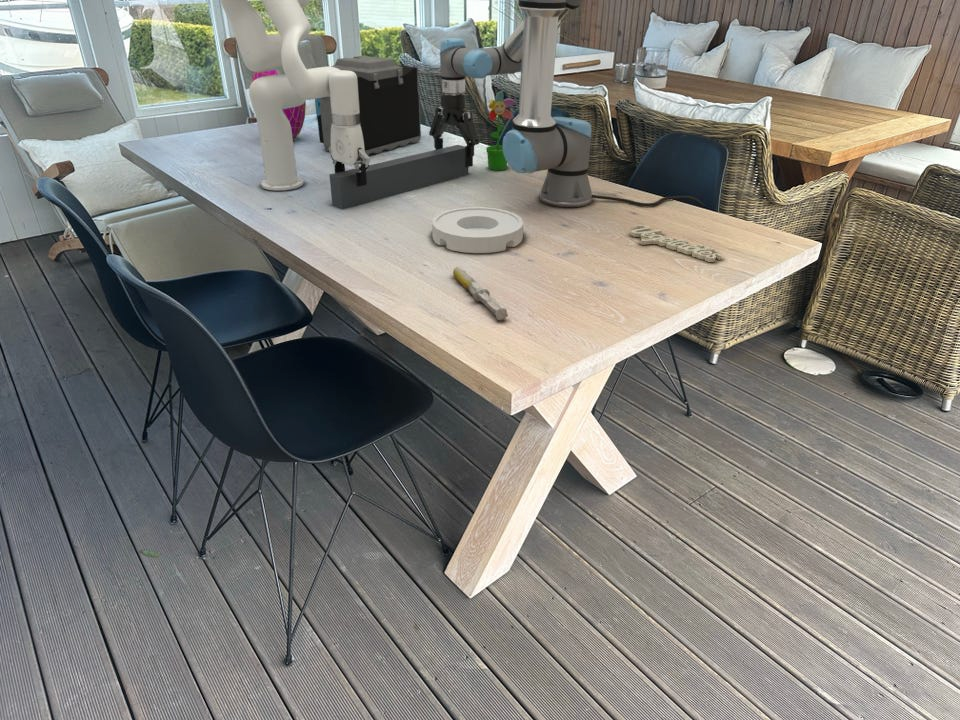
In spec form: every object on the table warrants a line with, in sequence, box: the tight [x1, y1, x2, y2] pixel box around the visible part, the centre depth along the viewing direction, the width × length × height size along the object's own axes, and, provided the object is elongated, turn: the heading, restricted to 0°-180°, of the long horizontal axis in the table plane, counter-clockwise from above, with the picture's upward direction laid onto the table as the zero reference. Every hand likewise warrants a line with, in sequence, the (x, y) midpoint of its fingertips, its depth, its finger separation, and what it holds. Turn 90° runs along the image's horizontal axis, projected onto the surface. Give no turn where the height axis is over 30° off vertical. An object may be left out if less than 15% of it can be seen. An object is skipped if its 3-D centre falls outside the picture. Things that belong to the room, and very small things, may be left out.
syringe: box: [452, 266, 509, 321], centre depth 145 cm, size 25×4×3 cm, turn 21°
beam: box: [329, 144, 469, 209], centre depth 210 cm, size 51×5×9 cm, turn 137°
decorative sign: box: [630, 224, 722, 263], centre depth 172 cm, size 26×1×10 cm
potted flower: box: [486, 90, 517, 171], centre depth 227 cm, size 9×8×25 cm
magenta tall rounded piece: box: [251, 70, 307, 139], centre depth 257 cm, size 19×19×30 cm
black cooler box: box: [316, 55, 422, 156], centre depth 250 cm, size 37×22×30 cm, turn 144°
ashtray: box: [431, 206, 524, 254], centre depth 175 cm, size 23×23×4 cm
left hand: (351, 181), depth 196 cm, fingers open, 9 cm apart
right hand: (453, 162), depth 223 cm, fingers open, 13 cm apart
